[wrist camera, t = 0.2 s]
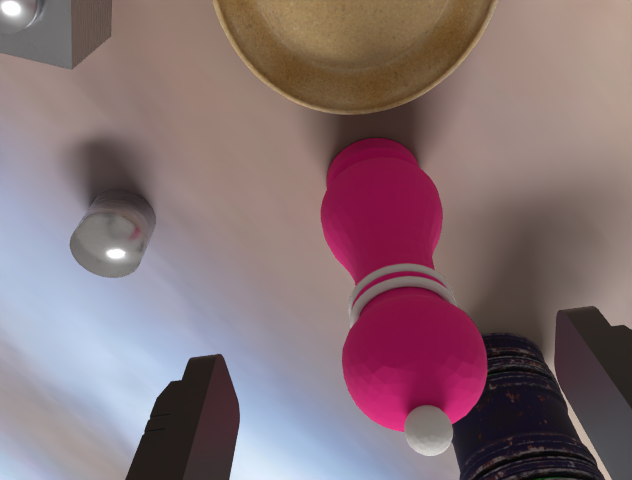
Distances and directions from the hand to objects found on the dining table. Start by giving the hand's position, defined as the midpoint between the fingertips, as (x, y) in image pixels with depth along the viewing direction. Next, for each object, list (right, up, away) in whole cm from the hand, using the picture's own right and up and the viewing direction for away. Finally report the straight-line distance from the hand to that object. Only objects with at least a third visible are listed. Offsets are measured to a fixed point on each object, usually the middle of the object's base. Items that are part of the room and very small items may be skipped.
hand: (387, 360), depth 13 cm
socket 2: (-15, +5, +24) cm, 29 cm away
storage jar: (+14, -9, +34) cm, 38 cm away
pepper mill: (+2, +7, +22) cm, 24 cm away
